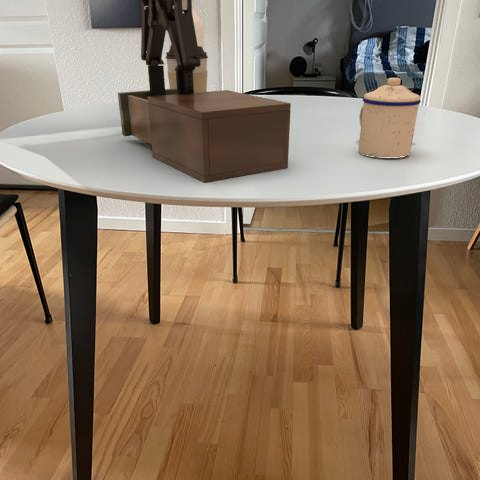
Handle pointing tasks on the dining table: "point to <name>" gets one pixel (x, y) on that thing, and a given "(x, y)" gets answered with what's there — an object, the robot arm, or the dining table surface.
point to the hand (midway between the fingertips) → (172, 109)
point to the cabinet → (219, 133)
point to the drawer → (137, 113)
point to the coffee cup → (198, 73)
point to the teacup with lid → (388, 120)
